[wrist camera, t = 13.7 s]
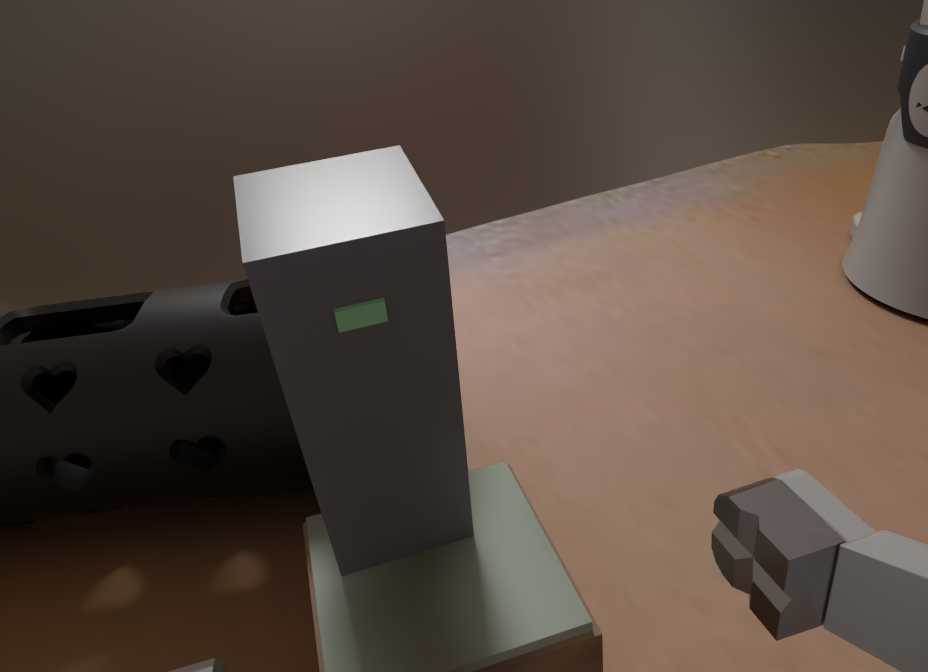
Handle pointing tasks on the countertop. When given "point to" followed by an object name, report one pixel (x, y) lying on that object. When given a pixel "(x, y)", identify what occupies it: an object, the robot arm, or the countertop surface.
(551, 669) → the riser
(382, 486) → the charger
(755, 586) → the robot arm
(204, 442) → the muzzle brake
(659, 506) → the countertop surface
